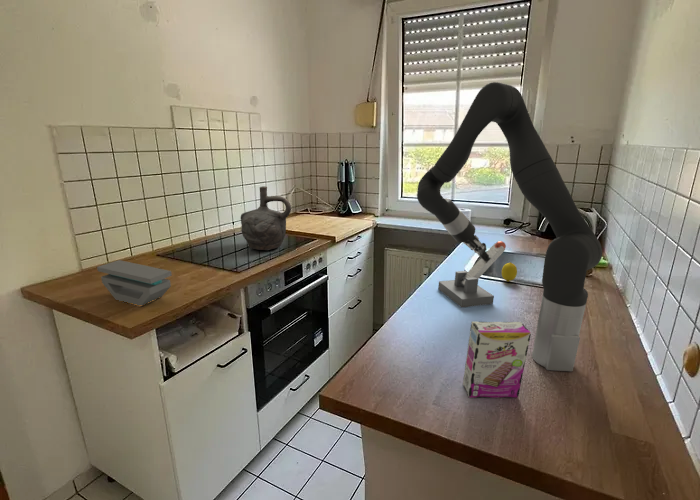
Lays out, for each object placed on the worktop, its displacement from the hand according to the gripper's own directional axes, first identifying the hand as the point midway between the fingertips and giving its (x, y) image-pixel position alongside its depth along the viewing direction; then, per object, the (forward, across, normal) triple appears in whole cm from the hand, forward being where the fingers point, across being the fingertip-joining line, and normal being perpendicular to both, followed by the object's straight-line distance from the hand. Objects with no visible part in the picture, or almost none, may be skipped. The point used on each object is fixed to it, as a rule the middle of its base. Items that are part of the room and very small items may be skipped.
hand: (485, 257), depth 130 cm
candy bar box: (-11, -47, +31) cm, 57 cm away
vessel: (-41, +74, +60) cm, 104 cm away
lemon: (+22, +8, -2) cm, 24 cm away
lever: (+1, 0, +12) cm, 12 cm away
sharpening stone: (-73, +24, +92) cm, 120 cm away
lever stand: (+5, 0, +15) cm, 15 cm away
